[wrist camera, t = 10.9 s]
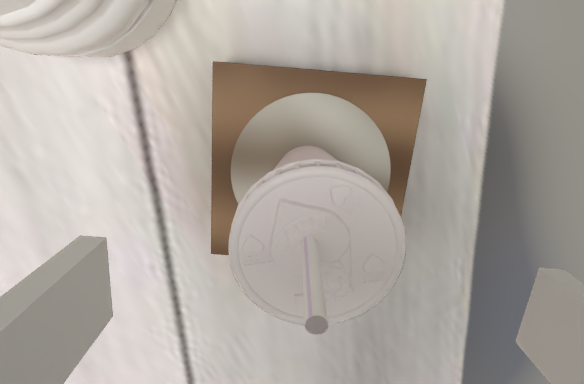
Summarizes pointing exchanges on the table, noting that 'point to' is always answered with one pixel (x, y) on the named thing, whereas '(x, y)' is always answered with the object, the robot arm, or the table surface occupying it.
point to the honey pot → (80, 25)
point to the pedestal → (306, 128)
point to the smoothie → (316, 241)
